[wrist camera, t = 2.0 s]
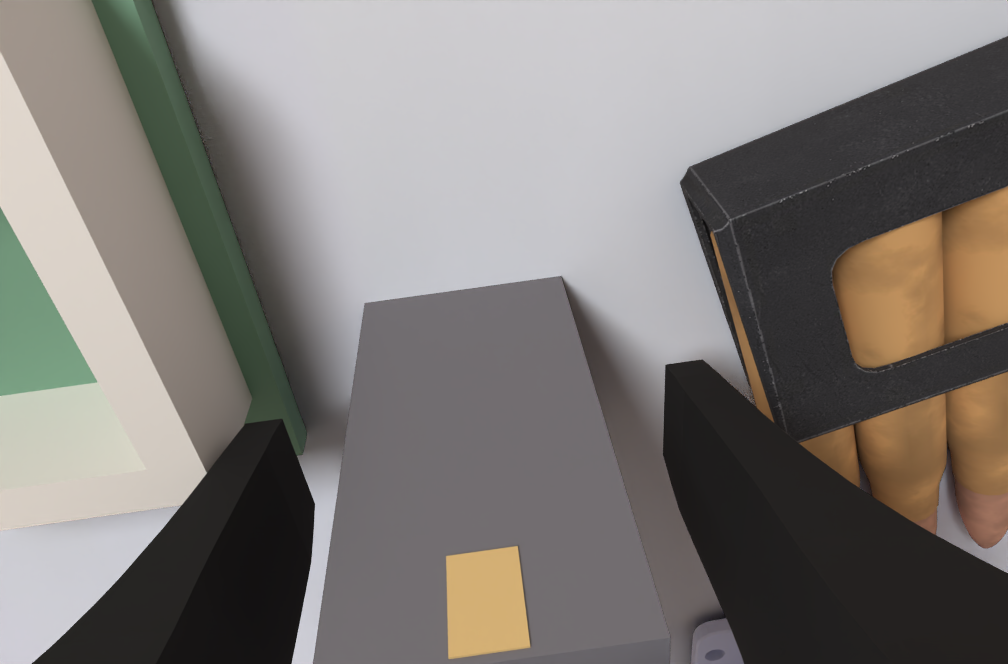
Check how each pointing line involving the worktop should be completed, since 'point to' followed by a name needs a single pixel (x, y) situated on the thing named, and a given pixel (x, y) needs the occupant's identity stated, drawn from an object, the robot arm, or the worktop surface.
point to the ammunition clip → (878, 283)
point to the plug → (482, 495)
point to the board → (115, 275)
